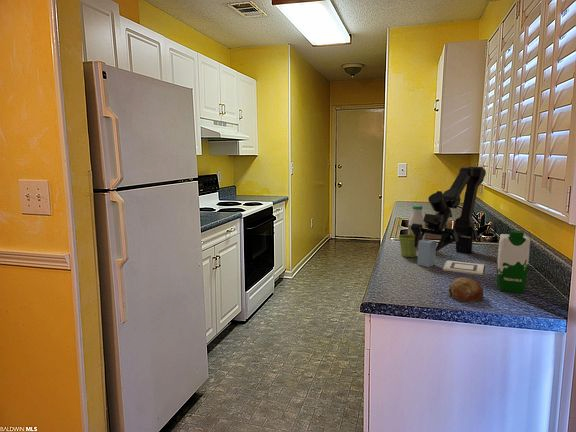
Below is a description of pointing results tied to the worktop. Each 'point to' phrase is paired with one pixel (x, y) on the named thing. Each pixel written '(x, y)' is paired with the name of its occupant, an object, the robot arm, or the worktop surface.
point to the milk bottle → (416, 218)
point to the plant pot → (408, 245)
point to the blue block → (426, 252)
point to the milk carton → (513, 262)
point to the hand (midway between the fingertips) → (425, 248)
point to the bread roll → (465, 290)
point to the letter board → (464, 267)
